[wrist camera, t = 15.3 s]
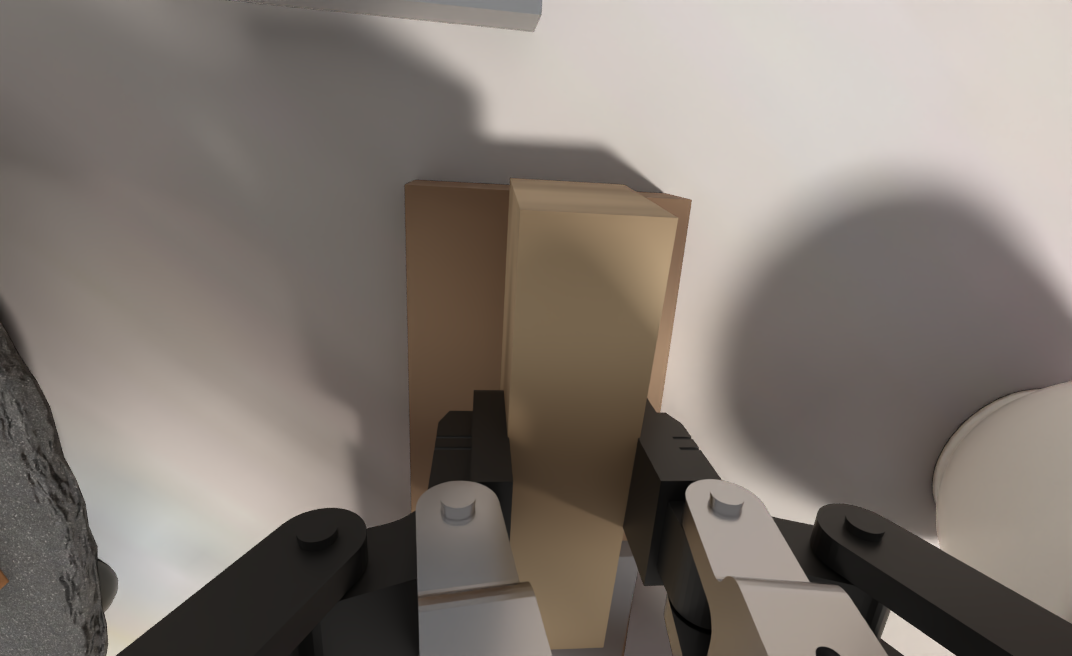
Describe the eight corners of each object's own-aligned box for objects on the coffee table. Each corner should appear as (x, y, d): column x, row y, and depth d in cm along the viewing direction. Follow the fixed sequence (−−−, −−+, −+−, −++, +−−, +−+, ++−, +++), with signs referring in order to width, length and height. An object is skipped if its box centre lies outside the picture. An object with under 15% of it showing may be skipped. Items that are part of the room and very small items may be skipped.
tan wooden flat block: (608, 623, 20) (621, 673, 18) (421, 631, 19) (414, 683, 17) (665, 193, 15) (691, 199, 13) (414, 179, 14) (404, 184, 12)
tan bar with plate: (610, 672, 18) (637, 795, 15) (433, 680, 17) (422, 810, 14) (701, 188, 12) (782, 223, 8) (426, 173, 11) (402, 203, 8)
